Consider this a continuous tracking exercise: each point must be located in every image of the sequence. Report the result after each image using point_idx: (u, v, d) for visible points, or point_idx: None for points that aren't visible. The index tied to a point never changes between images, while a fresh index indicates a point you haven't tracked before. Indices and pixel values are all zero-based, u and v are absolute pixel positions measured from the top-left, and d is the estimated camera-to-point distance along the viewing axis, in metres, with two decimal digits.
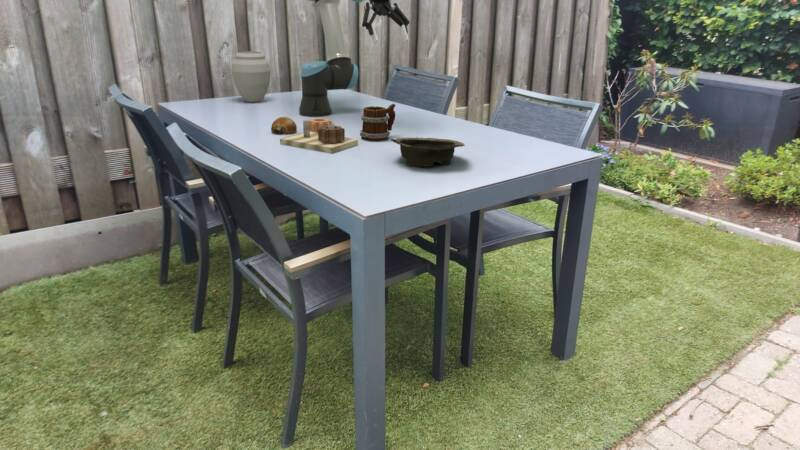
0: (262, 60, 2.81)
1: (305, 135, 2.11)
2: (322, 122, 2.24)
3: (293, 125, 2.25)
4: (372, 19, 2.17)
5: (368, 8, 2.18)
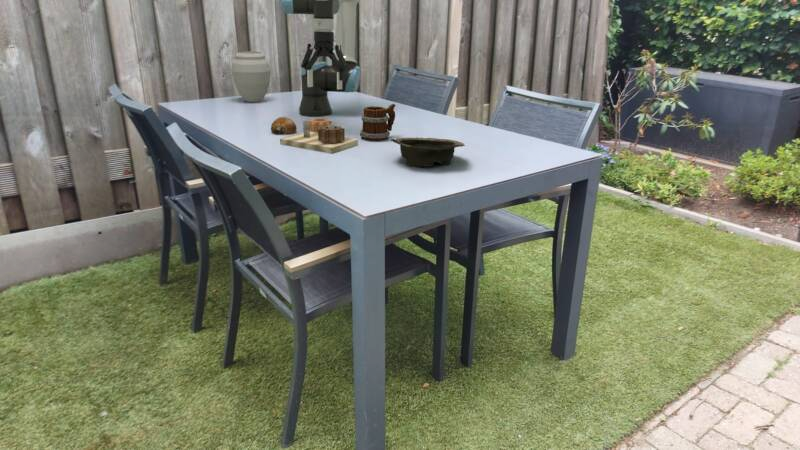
0: (262, 60, 2.81)
1: (305, 135, 2.11)
2: (322, 122, 2.24)
3: (293, 125, 2.25)
4: (309, 63, 2.20)
5: (308, 50, 2.19)
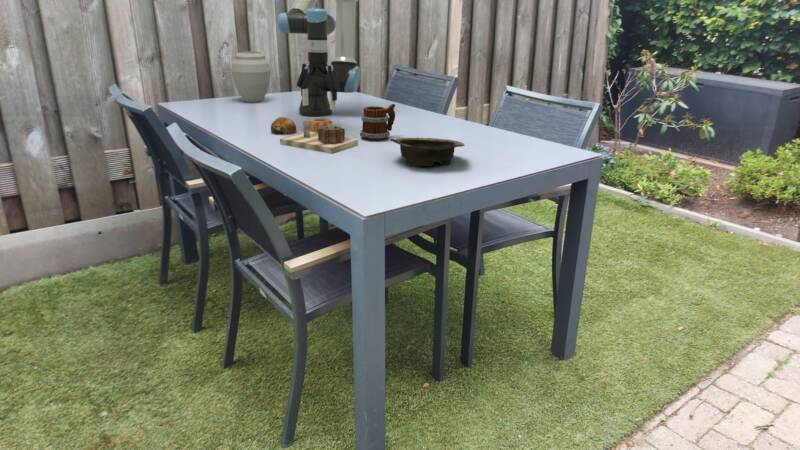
0: (262, 60, 2.81)
1: (305, 135, 2.11)
2: (322, 122, 2.24)
3: (293, 125, 2.25)
4: (304, 83, 2.23)
5: (303, 70, 2.22)
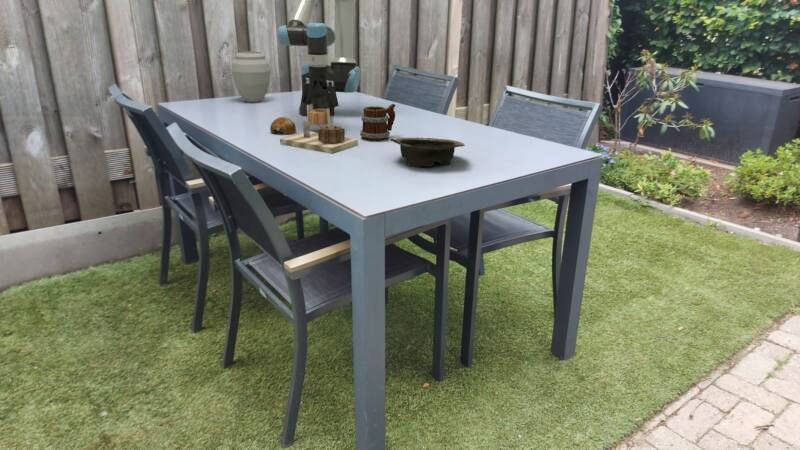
0: (262, 60, 2.81)
1: (305, 135, 2.11)
2: (322, 113, 2.23)
3: (292, 125, 2.24)
4: (307, 98, 2.26)
5: (304, 85, 2.24)
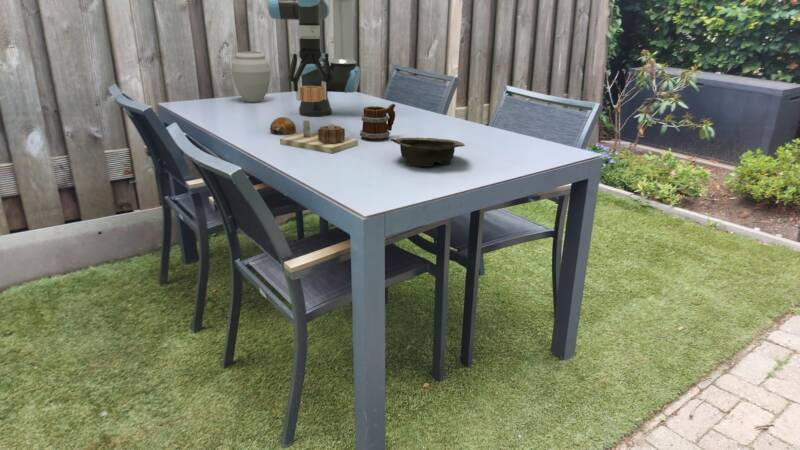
0: (262, 60, 2.81)
1: (305, 135, 2.11)
2: (321, 87, 2.12)
3: (292, 125, 2.24)
4: (299, 75, 2.07)
5: (295, 61, 2.05)
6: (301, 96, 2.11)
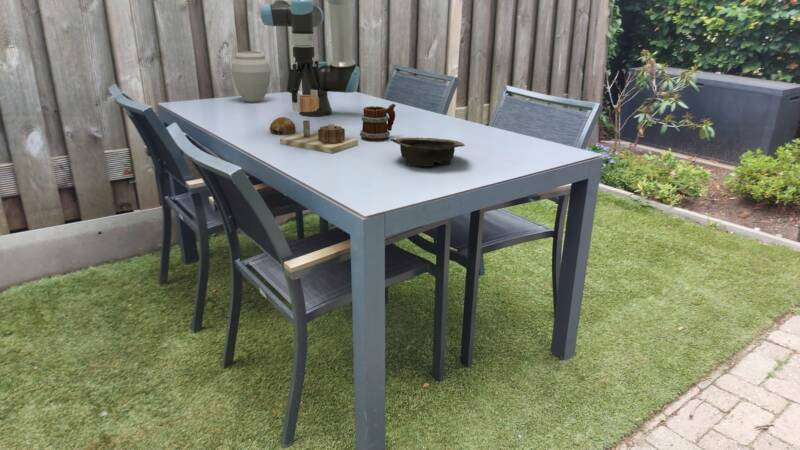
0: (262, 60, 2.81)
1: (305, 135, 2.11)
2: (315, 96, 2.08)
3: (292, 125, 2.24)
4: (298, 85, 2.00)
5: (295, 71, 1.98)
6: None
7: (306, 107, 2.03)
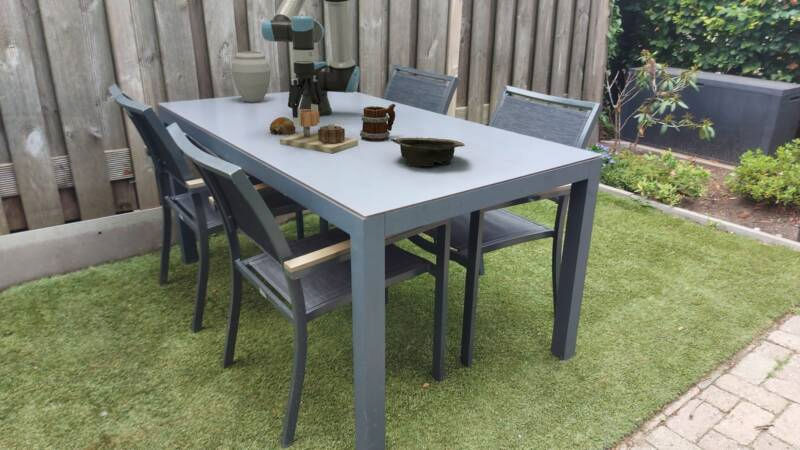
0: (262, 60, 2.81)
1: (305, 135, 2.11)
2: (315, 111, 2.10)
3: (292, 125, 2.24)
4: (299, 101, 2.02)
5: (296, 87, 2.00)
6: None
7: (307, 122, 2.05)
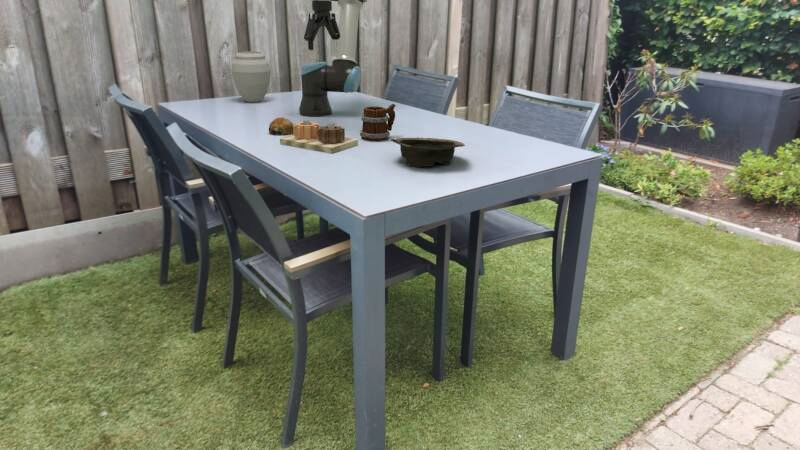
0: (262, 60, 2.81)
1: None
2: None
3: (291, 126, 2.24)
4: (315, 34, 2.15)
5: (314, 21, 2.13)
6: (300, 134, 2.08)
7: (307, 135, 2.07)
